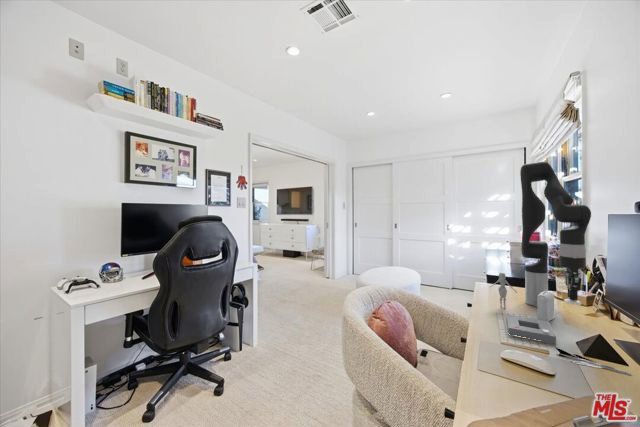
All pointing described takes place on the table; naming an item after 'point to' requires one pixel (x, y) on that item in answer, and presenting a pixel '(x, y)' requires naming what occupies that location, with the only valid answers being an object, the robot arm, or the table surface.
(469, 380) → the table surface
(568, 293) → the robot arm
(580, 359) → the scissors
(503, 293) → the human figurine
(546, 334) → the socket plate
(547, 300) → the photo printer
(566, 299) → the chess piece
